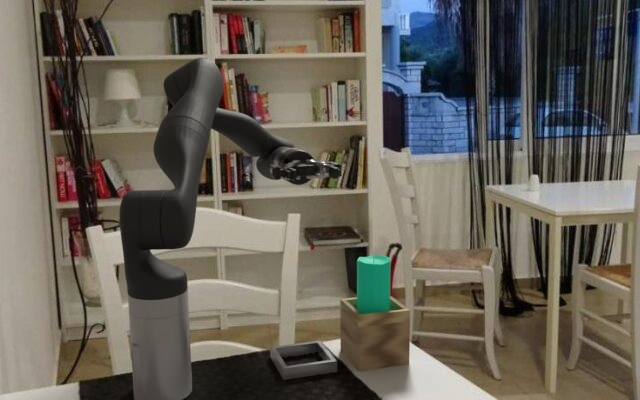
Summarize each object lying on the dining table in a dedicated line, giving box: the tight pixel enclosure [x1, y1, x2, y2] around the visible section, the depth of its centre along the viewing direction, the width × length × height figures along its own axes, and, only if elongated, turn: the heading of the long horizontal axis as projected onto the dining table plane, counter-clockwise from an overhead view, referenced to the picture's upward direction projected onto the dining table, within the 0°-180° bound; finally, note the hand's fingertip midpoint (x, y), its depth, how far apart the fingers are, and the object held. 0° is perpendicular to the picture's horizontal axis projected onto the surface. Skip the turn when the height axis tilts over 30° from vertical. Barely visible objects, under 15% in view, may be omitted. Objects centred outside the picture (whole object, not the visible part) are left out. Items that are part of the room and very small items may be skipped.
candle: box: [356, 250, 392, 314], centre depth 113 cm, size 6×6×12 cm
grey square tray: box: [269, 340, 338, 381], centre depth 112 cm, size 10×10×2 cm
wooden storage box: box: [339, 295, 411, 372], centre depth 115 cm, size 10×10×10 cm
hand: (316, 174), depth 123 cm, fingers open, 8 cm apart
